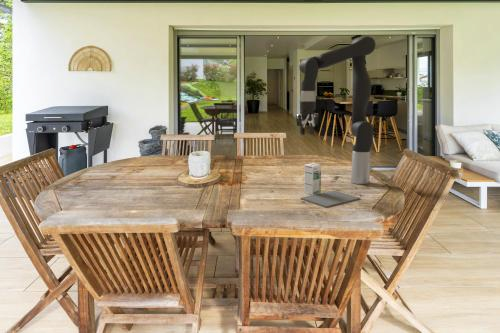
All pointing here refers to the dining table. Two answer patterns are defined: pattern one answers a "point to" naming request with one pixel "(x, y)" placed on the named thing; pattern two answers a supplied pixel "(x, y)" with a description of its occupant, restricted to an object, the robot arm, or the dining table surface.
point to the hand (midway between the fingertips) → (307, 134)
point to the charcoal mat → (330, 198)
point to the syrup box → (312, 179)
